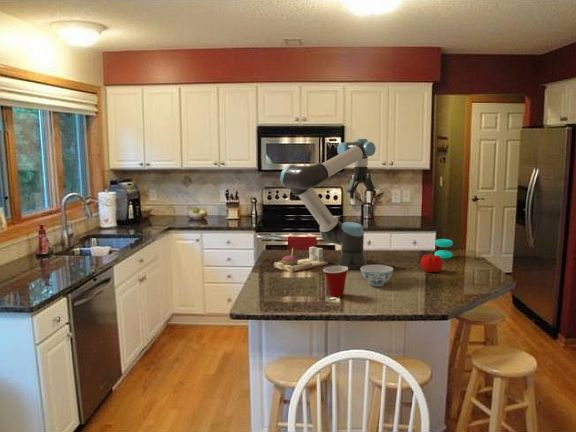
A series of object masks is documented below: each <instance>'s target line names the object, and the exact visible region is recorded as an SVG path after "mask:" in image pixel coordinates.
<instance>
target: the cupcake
mask: <svg viewBox="0 0 576 432" xmlns="http://www.w3.org/2000/svg"><path fill="white" fill-rule="evenodd" d="M298 260H299V259H298V257H296V255H294V247H292V248H291V255H285V256H284V257H282V259H281V261H282V262H283V263H284V264H286V265H290V266H295V265H297V264H296V263H297V262H298Z"/></svg>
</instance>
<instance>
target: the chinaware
mask: <svg viewBox="0 0 576 432" xmlns="http://www.w3.org/2000/svg"><path fill="white" fill-rule="evenodd" d="M393 272H394V268H393V267H392V266H389V265H385V264H367V265H365V266H362V267H361V269H360V273H361V275H362V278H363V279H364V280H365V281H366V282H367V283H368V284H369V285H370V286H371V287H383V286H384V285H385V283H387V282H388V281H390V279H391V278H392V275H393Z"/></svg>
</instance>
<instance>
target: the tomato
mask: <svg viewBox="0 0 576 432" xmlns="http://www.w3.org/2000/svg"><path fill="white" fill-rule="evenodd" d="M419 264H420V268H421V269H422V270H423V271H424V272H427V273H437V272H440V271H441V270H442V268H443V265H444V263H443V260H442V258H441V257H440V256H438V255H436V256H435V255H434V254H432V253H430V254H424V255H423V256H422V257H421V258H420V263H419Z"/></svg>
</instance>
